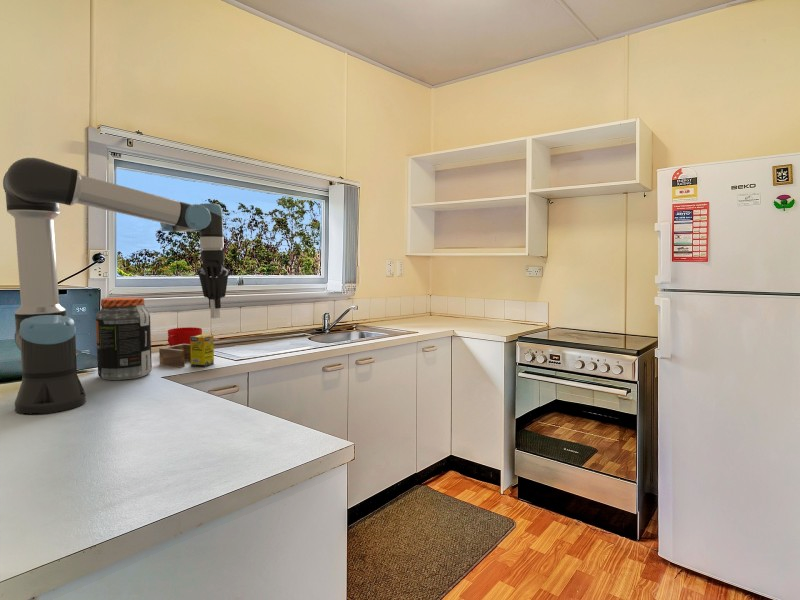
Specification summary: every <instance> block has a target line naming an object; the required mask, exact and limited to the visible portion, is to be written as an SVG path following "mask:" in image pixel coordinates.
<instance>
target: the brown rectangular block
mask: <svg viewBox="0 0 800 600" xmlns="http://www.w3.org/2000/svg"><path fill="white" fill-rule="evenodd" d="M158 352H159V354H158V355H159V356H158V358H159V365H161V366H163V365H164V366H168V367H169V366H170V367H177V368H183V367H185V364H186V363H185V361H190V362H191V344H179V345H174V346H170V345H169V346H165V347H160V348H159V351H158Z"/></svg>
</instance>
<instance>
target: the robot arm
mask: <svg viewBox="0 0 800 600" xmlns="http://www.w3.org/2000/svg"><path fill="white" fill-rule="evenodd" d="M2 187H3V190H4V193H5V201H6V202H5V204H6V212H7V213H8V214H9V215H10V216H11V217H12V218H14V228H15V241H16V242H15V243H16V252H17V253H16V256H17V268H18V283H19V293H20V294H19V295H20V297H19V298H20V306H19V308H17V310H15V311H14V321H15V325H14V326H15V331H14V332H15V333H14V342H15V344H16V346H17V348H18V349H19V350H20V355H21V356H20V357H21V373H22V375H21V376H22V378H21V383H20V387H19V389H18V392H17V395H16V398H15V401H14V411H15V413H17V412H18V414H21V413H27V414H26V415H33V414H32V413H45V414H49V413H48V412H53V413H59V412H64V411H68V410H71V409H75V408H77V407H80V406H82V405H84V404H85V403H86V402H87V401H86V399H87V397H86V392H85V390H84V387H83V385H82V382H81V381H80V378H79V376H78V370H77V369H78V367H77V365H78V364H77V344H76V343H77V342H76V339H77V338H76V334H77V328H76V324H75V321H74V319H73V318H71V317H69V316H67V309H66V308H65V307H63V306H62V305H61V304H60V298H59V284H58V283H59V282H58V281H59V280H58V266H57V255H56V240H55V238H56V237H55V225H54V223H55V222H54V220H55V218H57V217H58V216H59V215H60V213H61V212H60V204H63V205H66V206H73V205H75V204H78V205H83V206H87V207H91V208H96V209H101V210H105V211H108V212H114V213H118V214H122V215H125V216H126V215H127V216H130V217H137V218H140V219H144V220H147V221H151V222H158V223H159V224H160V228H161V229H162V230H163V231H165V232H171V233H174V232H177V233H178V232H180V233H181V232H182V233H184V232H186V233H190V232H192V233H193V232H194V233H198V232H199V244H200V245H199V247H200V249H201V250H200V261H201V262H202V267H201V268H200V269H197V270H196V273H197V275H198V277H199V282H200V284H201V285H200V287H201V289H202V290H201V291H202V295H203V297H204V298H206V299H208V306H209V309H210V319H218V318H221V312H220V310H221V306H222V305H221V304H222V303H221V299H222V298H225V297H226V294H227V286H228V279H229V275H230V274H231V270H230V269H227V268H225V265H224V260H225V250H223V249H224V247H225V246H224V245H225V243H224V225H223V221H224V220H223V219H224V216H223V210H222V206H221V205H220V204H218V203H205V202H204V203H199V204H198V203H195V204H190V203H188V202H183V201H179V200H175V199H171V198H169V197H165V196H161V195H157V194H153V193H149V192H146V191H142V190H139V189H134V188H131V187H127V186H123V185H119V184H117V183H112V182H108V181H104V180H102V179H101V180H100V179H96V178H92V177H89V176H85V175H83V174H82V173H81V172H80V171H79V170H78V169H75V168H71V167H67V166H64V165H61V164H58V163H55V162H52V161H48V160H45V159H42V158H37V157H25V158H21V159H17V160H16V161H14V162H13V163H11V165H10V166H9V167H8V169H7V171H6V172H5V174H4V177H3V179H2ZM58 411H59V412H58ZM28 413H29V414H28ZM30 413H31V414H30Z"/></svg>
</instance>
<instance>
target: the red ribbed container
mask: <svg viewBox="0 0 800 600" xmlns="http://www.w3.org/2000/svg"><path fill="white" fill-rule="evenodd" d="M197 335H203V329H202V328H201V327H192V326H191V327H175V328H170V329H168V330H167V344H168V345H169V346H174V345H179V344H191V343H190V337H193V336H197Z"/></svg>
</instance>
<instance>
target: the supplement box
mask: <svg viewBox="0 0 800 600" xmlns="http://www.w3.org/2000/svg"><path fill="white" fill-rule="evenodd" d="M190 343H191V361H190V367H197V368H198V367H199V368H200V367H201V368H205V367H208V366H211V365H214V364H215V360H214V359H215V357H214V355H215V354H214V353H215V352H214V350H215V348H214V347H215V346H214V335H211V334H202V335H197V336H193V337H190Z"/></svg>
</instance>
